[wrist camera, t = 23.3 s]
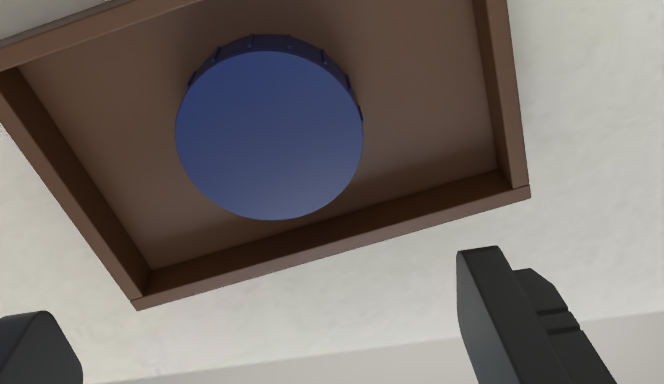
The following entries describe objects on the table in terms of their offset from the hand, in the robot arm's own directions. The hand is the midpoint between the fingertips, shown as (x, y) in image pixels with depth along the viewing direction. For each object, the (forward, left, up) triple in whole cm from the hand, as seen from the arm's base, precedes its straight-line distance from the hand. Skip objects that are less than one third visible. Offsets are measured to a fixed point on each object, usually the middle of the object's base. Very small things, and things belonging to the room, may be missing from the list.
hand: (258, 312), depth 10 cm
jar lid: (0, 0, -7) cm, 7 cm away
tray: (0, 0, -9) cm, 9 cm away
